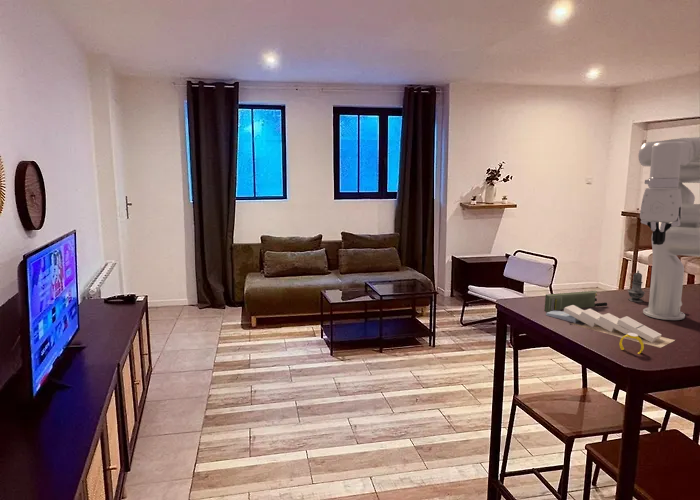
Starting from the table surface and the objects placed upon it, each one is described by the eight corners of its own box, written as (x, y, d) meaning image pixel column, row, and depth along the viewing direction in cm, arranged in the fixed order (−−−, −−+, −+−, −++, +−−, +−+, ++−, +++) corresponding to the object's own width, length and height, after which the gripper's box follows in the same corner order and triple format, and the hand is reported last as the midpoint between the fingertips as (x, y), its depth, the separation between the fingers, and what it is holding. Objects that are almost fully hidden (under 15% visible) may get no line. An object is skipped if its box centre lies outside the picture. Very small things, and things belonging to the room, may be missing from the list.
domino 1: (583, 314, 171) (554, 310, 180) (575, 317, 168) (545, 312, 177) (583, 319, 171) (554, 314, 180) (575, 322, 168) (546, 317, 177)
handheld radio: (543, 310, 186) (603, 305, 190) (548, 313, 183) (609, 308, 187) (544, 293, 184) (604, 289, 189) (549, 296, 181) (610, 291, 186)
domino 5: (651, 342, 149) (616, 323, 157) (659, 338, 152) (624, 320, 160) (653, 338, 148) (618, 319, 156) (661, 334, 151) (626, 315, 159)
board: (585, 320, 173) (586, 317, 173) (675, 342, 151) (675, 339, 151) (569, 326, 168) (569, 323, 167) (660, 350, 145) (660, 347, 145)
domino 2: (592, 327, 164) (563, 311, 172) (601, 324, 167) (571, 308, 175) (594, 322, 163) (564, 307, 171) (602, 319, 166) (573, 304, 174)
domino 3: (611, 332, 159) (580, 315, 167) (619, 328, 162) (588, 312, 170) (613, 327, 158) (581, 311, 166) (621, 324, 161) (590, 308, 169)
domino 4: (631, 337, 154) (598, 320, 162) (640, 334, 157) (606, 317, 165) (633, 332, 153) (600, 315, 161) (641, 329, 156) (608, 312, 164)
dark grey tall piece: (646, 302, 192) (649, 272, 190) (630, 302, 194) (632, 272, 192) (641, 298, 198) (643, 269, 196) (625, 298, 199) (627, 268, 197)
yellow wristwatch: (643, 356, 142) (646, 336, 141) (640, 358, 140) (643, 339, 139) (620, 349, 146) (623, 330, 145) (617, 351, 144) (620, 332, 143)
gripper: (631, 183, 154) (627, 242, 157) (686, 185, 142) (680, 248, 145) (643, 182, 158) (638, 240, 161) (697, 184, 146) (690, 245, 150)
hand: (658, 244), depth 153 cm, fingers closed
